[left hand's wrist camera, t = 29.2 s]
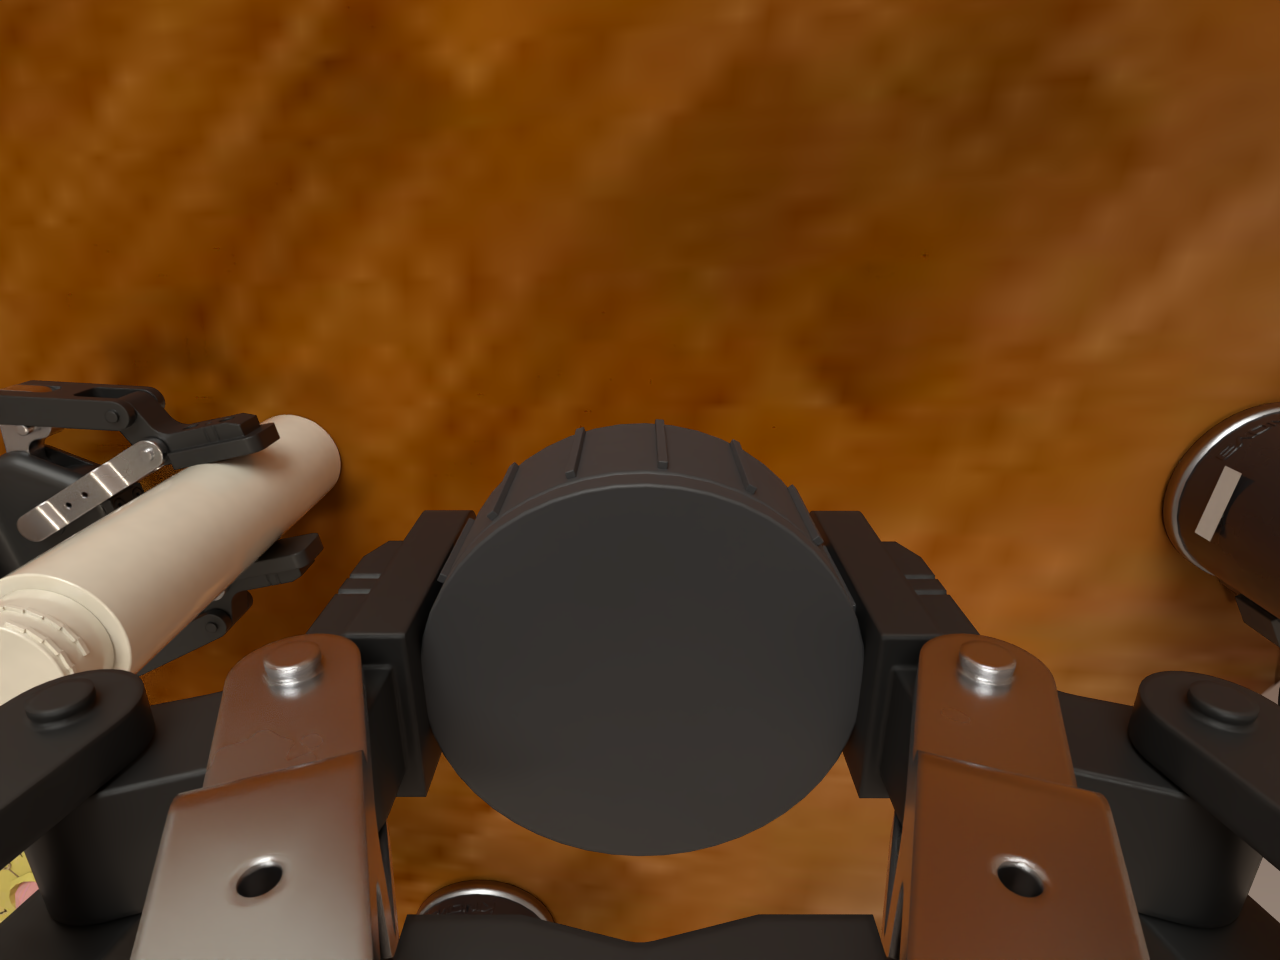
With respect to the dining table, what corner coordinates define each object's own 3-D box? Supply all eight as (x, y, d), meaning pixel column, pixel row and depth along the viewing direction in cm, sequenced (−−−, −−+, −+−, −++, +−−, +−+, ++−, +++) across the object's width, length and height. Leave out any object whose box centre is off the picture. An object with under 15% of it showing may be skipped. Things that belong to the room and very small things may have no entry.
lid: (753, 772, 12) (778, 895, 10) (428, 696, 11) (381, 810, 9) (882, 477, 10) (945, 552, 8) (502, 371, 10) (463, 423, 7)
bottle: (324, 515, 39) (65, 774, 22) (237, 477, 38) (-102, 713, 21) (353, 439, 38) (101, 652, 20) (264, 398, 37) (-78, 582, 19)
